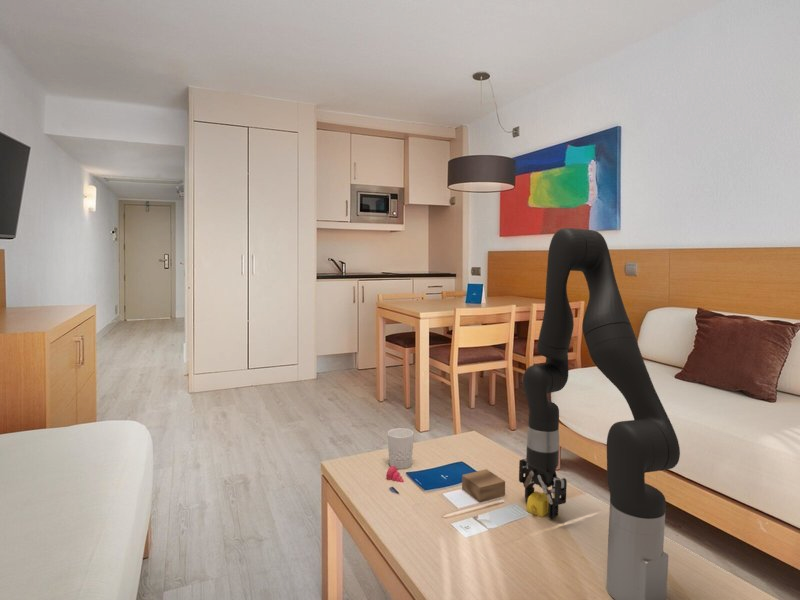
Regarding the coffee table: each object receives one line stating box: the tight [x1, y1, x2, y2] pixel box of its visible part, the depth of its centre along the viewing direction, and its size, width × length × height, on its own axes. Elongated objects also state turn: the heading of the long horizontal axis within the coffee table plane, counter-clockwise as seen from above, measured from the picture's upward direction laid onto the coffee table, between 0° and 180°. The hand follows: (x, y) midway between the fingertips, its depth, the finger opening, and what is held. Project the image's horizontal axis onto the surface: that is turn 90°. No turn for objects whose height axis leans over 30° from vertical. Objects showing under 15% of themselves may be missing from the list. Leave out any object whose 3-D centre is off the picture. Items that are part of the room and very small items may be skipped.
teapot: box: [526, 490, 549, 518], centre depth 118 cm, size 8×6×5 cm
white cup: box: [387, 427, 415, 470], centre depth 147 cm, size 8×8×10 cm
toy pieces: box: [385, 466, 405, 494], centre depth 133 cm, size 12×11×4 cm
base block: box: [461, 469, 506, 504], centre depth 128 cm, size 8×8×4 cm
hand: (540, 509), depth 119 cm, fingers open, 7 cm apart
